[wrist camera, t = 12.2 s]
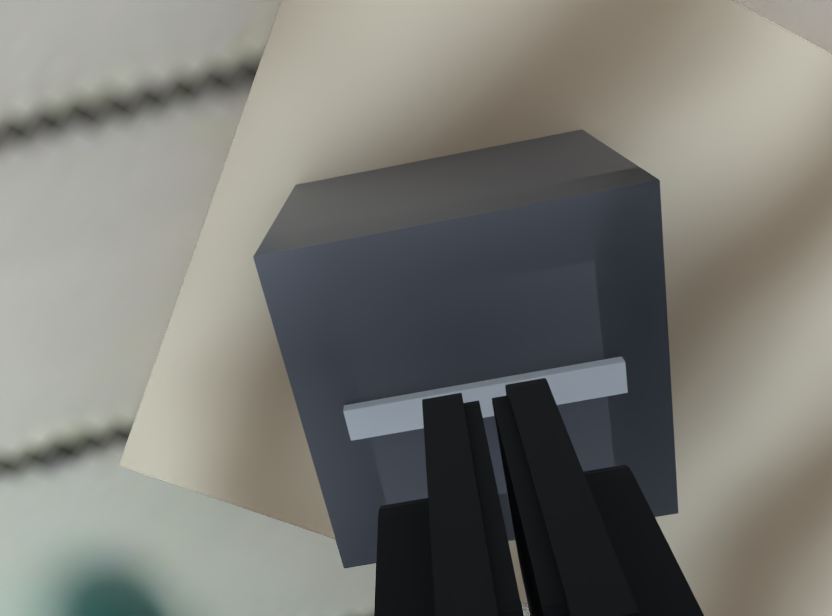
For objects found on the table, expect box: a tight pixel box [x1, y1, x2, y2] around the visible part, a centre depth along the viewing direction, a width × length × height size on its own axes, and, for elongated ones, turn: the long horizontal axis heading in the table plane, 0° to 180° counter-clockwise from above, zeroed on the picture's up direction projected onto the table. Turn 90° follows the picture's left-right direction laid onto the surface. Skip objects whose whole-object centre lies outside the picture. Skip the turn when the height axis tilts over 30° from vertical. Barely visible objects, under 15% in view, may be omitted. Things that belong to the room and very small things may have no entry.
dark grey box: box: [253, 130, 678, 568], centre depth 15 cm, size 6×6×5 cm
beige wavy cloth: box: [119, 0, 832, 616], centre depth 19 cm, size 24×16×2 cm, turn 66°
